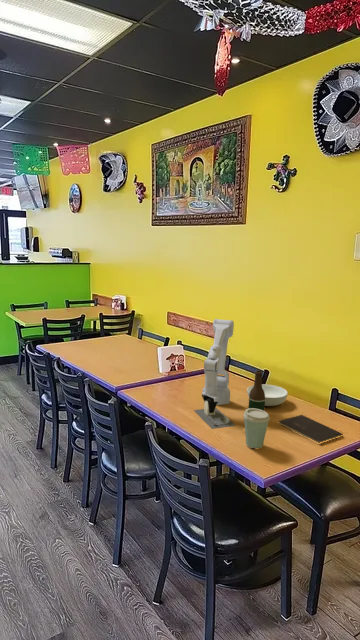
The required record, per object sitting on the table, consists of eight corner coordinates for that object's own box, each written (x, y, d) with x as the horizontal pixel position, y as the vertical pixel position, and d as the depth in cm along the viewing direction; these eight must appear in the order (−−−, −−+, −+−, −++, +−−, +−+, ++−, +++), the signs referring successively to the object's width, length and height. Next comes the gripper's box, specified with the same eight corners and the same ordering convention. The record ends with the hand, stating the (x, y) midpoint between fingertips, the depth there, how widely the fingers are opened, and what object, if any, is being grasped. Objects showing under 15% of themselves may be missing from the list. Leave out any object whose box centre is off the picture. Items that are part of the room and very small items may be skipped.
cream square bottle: (211, 411, 203) (212, 397, 202) (215, 414, 200) (215, 400, 199) (204, 412, 202) (204, 398, 201) (207, 415, 198) (208, 401, 197)
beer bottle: (251, 424, 193) (254, 374, 189) (244, 417, 200) (247, 369, 196) (266, 422, 195) (270, 373, 191) (259, 416, 202) (262, 368, 198)
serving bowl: (264, 393, 234) (265, 381, 233) (294, 405, 218) (296, 392, 217) (238, 400, 222) (238, 388, 221) (267, 413, 206) (268, 400, 204)
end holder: (222, 417, 196) (222, 413, 196) (229, 424, 190) (229, 419, 189) (207, 419, 194) (208, 415, 193) (214, 425, 187) (214, 421, 187)
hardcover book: (318, 446, 174) (318, 441, 174) (278, 425, 194) (278, 420, 193) (342, 438, 183) (343, 433, 182) (302, 418, 202) (302, 414, 202)
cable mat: (215, 409, 209) (215, 407, 209) (236, 427, 188) (236, 425, 188) (193, 412, 205) (193, 410, 204) (211, 431, 184) (212, 428, 184)
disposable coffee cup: (264, 440, 177) (266, 406, 174) (270, 452, 166) (273, 417, 164) (239, 440, 177) (241, 406, 174) (244, 452, 166) (246, 417, 163)
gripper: (197, 379, 204) (196, 406, 206) (209, 389, 190) (208, 417, 193) (210, 378, 206) (209, 404, 208) (223, 388, 193) (221, 415, 195)
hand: (209, 410), depth 201 cm, fingers closed on cream square bottle, 4 cm apart
